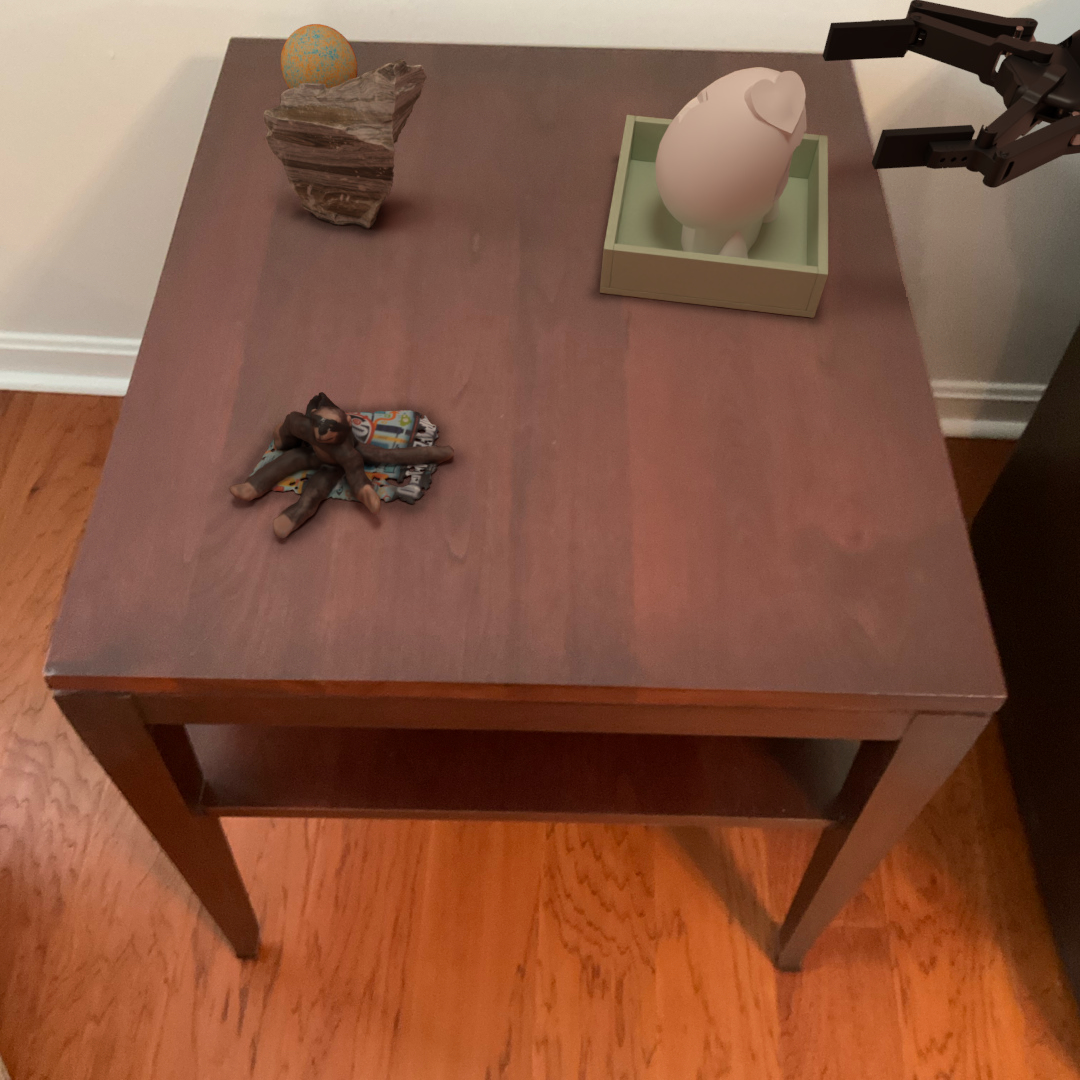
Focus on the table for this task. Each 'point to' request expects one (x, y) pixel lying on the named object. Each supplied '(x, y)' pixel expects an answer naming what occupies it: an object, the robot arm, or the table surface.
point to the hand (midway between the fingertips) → (851, 93)
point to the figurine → (731, 158)
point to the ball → (317, 57)
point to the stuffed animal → (344, 459)
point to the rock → (344, 140)
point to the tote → (675, 275)
